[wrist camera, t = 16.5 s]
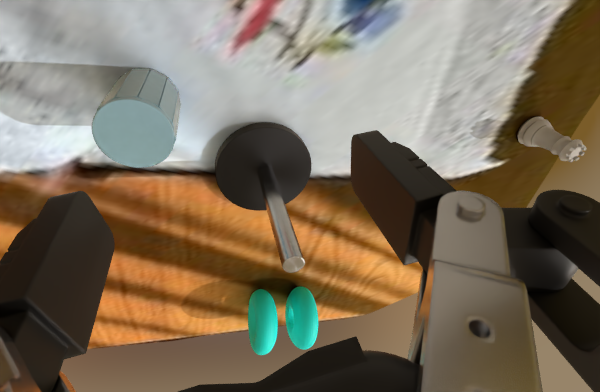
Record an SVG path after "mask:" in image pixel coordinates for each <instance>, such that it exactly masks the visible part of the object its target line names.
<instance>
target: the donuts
mask: <svg viewBox="0 0 600 392" xmlns="http://www.w3.org/2000/svg"><path fill="white" fill-rule="evenodd" d="M285 317H286V326H287V331H288V334H289V337H290V339H291V341H292V342H293V344H294V345H295V346H296V347H298V348H300V349H304V350H305V349H308V348H310V347H311V346H312V345H313V344H314V342H315V340H316V337H317V333H318V313H317V307H316V303H315V300H314V298H313V295H312V294H311V292H310V291H309V290H308V289H307V288H305V287H302V286H301V287H296V288H294V289H293V290H292V291H291V292H290V294H289V296H288V299H287V302H286V310H285ZM248 328H249V338H250V343H251V346H252V348H253V350H254V352H255V353H257V354H258V355H265V354H267V353H268V352H270V351H271V350H272V348H273V346H274V344H275V341H276V337H277V328H278V320H277V311H276V306H275V302H274V300H273V298H272V296H271V295H270V293H269V292H267V291H266V290H264V289H258V290H256V291H254V292H253V293H252V295H251V297H250V301H249V308H248Z"/></svg>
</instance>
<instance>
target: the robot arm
mask: <svg viewBox="0 0 600 392" xmlns="http://www.w3.org/2000/svg"><path fill="white" fill-rule="evenodd" d="M351 182H352V186H353V189H354V191H355V193H356V195H357V196H358V198H359V199H360V201H361V202H362V204H363V205H364V207H365V208H366V210H367V211H368V213H369V214H370V216H371V217H372V219H373V220H374V222H375V223H376V225H377V226H378V228H379V229H380V231H381V232H382V233H383V235H384V236H385V238H386V239H387V241H388V242H389V244H390V245H391V247H392V248H393V250H394V251H395V253H396V254H397V256H398V257H399V259H400V260H401V262H402V263H403V265H407V264H411V263H414V262H419V263H420V265H421V266H422V272H421V277H420V284H419V291H418V299H417V306H416V313H415V320H414V327H413V333H412V339H411V343H410V348H409V354H408V359H405V358H402V357H399V356H397V355H393V354H389V353H385V352H379V351H362V349H361V346H360V344H359V342H358V339H357V337H353V338H349V339H347V340H343V341H340V342H337V343H334V344H330V345H327V346H324V347H321V348H317V349H314V350H311V351H308V352H306V353H305V354H303V355H301V356H300V357H298V358H297V359H295V360H293V361H292V362H290V363H289V364H287V365H285V366H284V367H282V368H281V369H279V370H278V371H276V372H274V373H273V374H271V375H270V376H268V377H266V378H265V379H263V380H261V381H259V382H256V383H239V384H208V385H198V386H195V387H191V388H188V389H185V390H182V391H179V392H543V391H542V385H541V378H540V372H539V365H538V359H537V352H536V345H535V340H534V333H533V326H532V320H533V321H534V322H535V323H536V324H537V326H538V327H539V328H540V329H541V330H542V331H543V333H544V334H545V335H546V336H547V337H548V339H549V340H550V341H551V342H552V343H553V344H554V346H555V347H556V348H557V349H558V350H559V352H560V353H561V354H562V355H563V356H564V357H565V359H566V360H567V361H568V362H569V363H570V364H571V366H572V367H573V368H574V369H575V370H576V371H577V373H578V374H579V375H580V376H581V377H582V379H583V380H584V381H585V382H586V383H587V384H588V386H589V387H590V388H591V389H592V390H593V391H594V392H600V304H599V303H597V302H596V301H595V300H594V299H593V298H592V297H591V296H590V295H589V294H588V293H587V292H586V291H584V290H583V289H582V288H581V287H580V286H579V285H578V284H577V283H576V282H575V281H574V280H573V279H572V277H573V275H574V274H575V273H576V271H577V270H578V269H580V270H581V271H583V272H584V273H585V274H586V275H587V276H588V277H589V278H590V279H592V280H593V281H594V282H595V283H596V284H597V285H599V286H600V203H599V202H597V201H595V200H594V199H592V198H590V197H587V196H585V195H582V194H579V193H576V192H571V191H565V190H551V191H546V192H543V193H541V194H540V195H539V196H538V197H537V199H536V201H535V203H534V205H533V207H532V208H501V207H500V206H499V205H498V204H497V203H496V202H495V201H493V200H492V199H490V198H488V197H486V196H484V195H481V194H478V193H474V192H469V191H456V190H455V189H454V188H453V187H452V186H450V185H449V184H448V183H447V182H446V181H445V180H444V179H443V178H442V177H440V176H439V175H438V174H437V173H436V172H435V171H434V170H433V169H432V168H430V167H429V166H428V167H427V164H426V163H425V162H424V161H423V160H422V159H419V157H418V156H417V155H416V154H415V153H414V152H413V151H412V150H411V149H409V148H407V147H405V146H403V145H401V144H398V143H396V142H392V143H390V142H389V141H388V140H387V139H386V138H385V137H384V136H383V135H382V134H381V133H380V132H379V131H377V130H375V131H370V132H366V133H361V134H356V135H354V136H353V137H352V142H351ZM113 252H114V238H113V234H112V232H111V230H110V228H109V227H108V225H107V224H106V222H105V220H104V219H103V217H102V216H101V214H100V213H99V211H98V210H97V208H96V206H95V205H94V203H93V202H92V200H91V199H90V197H89V196H88V195H87V194H86V193H85V192H83V191H78V192H73V193H68V194H64V195H59V196H54V197H51V198H49V199H48V201H47V202H46V204H45V205H44V207H43V209H42V210H41V212H40V214H39V215H38V217H37V219H34V220H33V221H31V222H30V223H29V224H28V225H27V226H26V227H25V228H24V229H22V230H21V231H20V232H19V233H18V234H17V235H16V237H15V239H14V240H13V242H12V243H11V245H10V246H9V248H8V252H6V253H5V254H4V256H3V257H2V259H1V261H0V392H76V391H75V390H74V388H73V386H72V385H71V383H70V382H69V380H68V379H67V377H66V376H65V375H64V374H63V373H62V372H61V371H60V369H61V366H62V363H63V360H64V359H67V358H71V357H74V356H78V355H81V354H85V353H86V351H87V347H88V343H89V340H90V336H91V333H92V329H93V325H94V322H95V318H96V314H97V311H98V307H99V303H100V300H101V296H102V292H103V289H104V285H105V281H106V278H107V274H108V271H109V267H110V263H111V260H112V256H113ZM531 319H532V320H531Z"/></svg>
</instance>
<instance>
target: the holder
mask: <svg viewBox="0 0 600 392" xmlns="http://www.w3.org/2000/svg"><path fill="white" fill-rule="evenodd" d="M215 172H216V180H217V184H218V186H219V188H220V190H221V192H222V193H223V194H224V196H225V197H226V198H227V199H228V200H230V201H231V202H232V203H234V204H236V205H237V206H240V207H242V208H246V209H250V210H267V212H268V215H269V219H270V223H271V226H272V230H273V234H274V238H275V241H276V245H277V249H278V252H279V256H280V260H281V263H282V267H283V269H284V270H285V271H286V272H290V273H291V272H296V271H299V270H300V269H302V268H303V266H304V264H305V260H304V257H303V254H302V252H301V249H300V246H299V243H298V240H297V237H296V235H295V232H294V229H293V226H292V223H291V220H290V217H289V215H288V212H287V209H286V206H285V204H286V203H288V202H290V201H291V200H293V199H294V198H295V197H296V196H297V195H298V194H299V193H300V192H301V191H302V190H303V189H304V187H305V186H306V184H307V182H308V180H309V177H310V173H311V158H310V154H309V152H308V149H307V147H306V146H305V144H304V142H303V141H302V139H301V138H300V137H299V136H298V135H297V134H296V133H295V132H294V131H292V130H291V129H289V128H287V127H285V126H283V125H279V124H275V123H255V124H251V125H248V126H245V127H243V128H241V129H239V130H237V131H236V132H234V133H233V134H231V135H230V136H229V137H228V138H227V139H226V140H225V141H224V143H223V144H222V146H221V147H220V149H219V151H218V154H217V157H216V162H215Z"/></svg>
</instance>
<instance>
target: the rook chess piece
mask: <svg viewBox="0 0 600 392" xmlns="http://www.w3.org/2000/svg"><path fill="white" fill-rule="evenodd" d="M517 136H518V141H519V142H520V143H521V144H525V145H526V146H532V147H533V146H534V147H538V146H539V147H542V148H545V149H548V150H550V151H551V152H552V154H558V155H559V158H560V160H561V161H569V162H573V161H574V160H575V161H577V160H578V159H579V158H578V157H577V156H578V155H582V156H583V155H584V152H582V150H586V147H585V146H584V145H583V144H582V141H581V140H571V139H570V137H569V136H563V135H561V134H559V133H558V132H556V131H555V130H554V129H553V127H552V126H551V124H550V123H549V122H548V121H547V120H544V119H543V118H542V117H534V118H531V119H529V120H527V121H526V122H525V123H524V124H523V125H522V126H521V127H520V129H519V131H518V134H517ZM572 159H573V160H572Z"/></svg>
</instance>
